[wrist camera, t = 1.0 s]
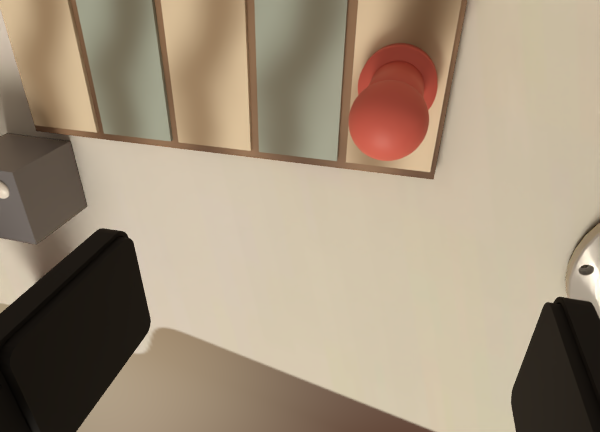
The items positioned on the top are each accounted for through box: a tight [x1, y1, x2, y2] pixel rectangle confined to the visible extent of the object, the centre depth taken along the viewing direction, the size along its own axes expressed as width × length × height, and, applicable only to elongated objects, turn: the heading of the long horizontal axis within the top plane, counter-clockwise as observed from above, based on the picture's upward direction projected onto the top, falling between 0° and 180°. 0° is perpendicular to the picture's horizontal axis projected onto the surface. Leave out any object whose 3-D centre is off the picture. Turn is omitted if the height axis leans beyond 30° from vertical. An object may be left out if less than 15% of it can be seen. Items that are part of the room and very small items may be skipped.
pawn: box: [348, 43, 438, 161], centre depth 23 cm, size 4×4×9 cm
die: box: [0, 133, 87, 244], centre depth 36 cm, size 6×6×6 cm
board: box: [0, 0, 467, 179], centre depth 29 cm, size 30×12×1 cm, turn 89°
